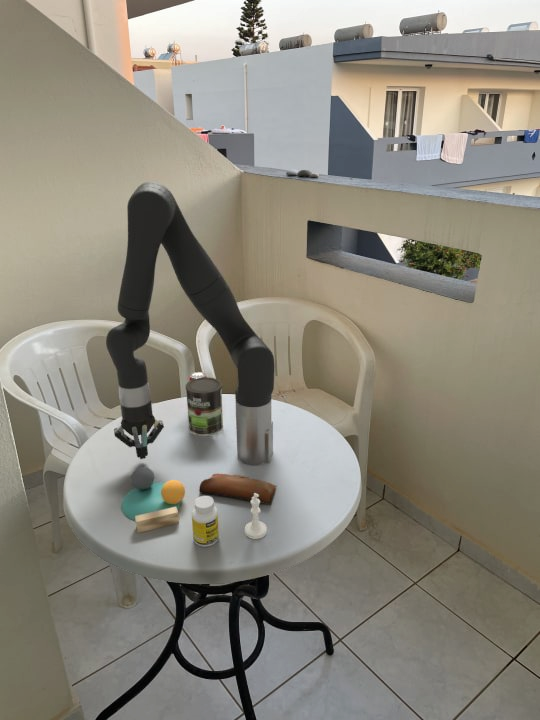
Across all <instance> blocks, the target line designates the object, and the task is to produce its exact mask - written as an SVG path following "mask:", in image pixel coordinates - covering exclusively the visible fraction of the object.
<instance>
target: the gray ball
mask: <svg viewBox="0 0 540 720" xmlns="http://www.w3.org/2000/svg"><path fill="white" fill-rule="evenodd" d="M130 480H131V481H130V482H131V484H132V486H133V488H136V489H139V490H145V489H148V488H149V487H151V486H152V484H153V482H155V474H154V472H153V470H152V469H151V468H149V467H147V466H140V467H137V468H136V469H134V471H133V472H132V473H131V477H130Z"/></svg>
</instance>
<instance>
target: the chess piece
mask: <svg viewBox="0 0 540 720" xmlns="http://www.w3.org/2000/svg"><path fill="white" fill-rule="evenodd" d="M257 497H259V495H258V494H256V493H254V496H253V497H252V500H251V501H250V504H251V508H250V513H251V514H252V521H249V522H248V523H246V525H245V527H244V534H245V536H246V537H247V538H250V539H253V540H259V539H262V538H264V537H265V536H266V534H267V533H268V527H267V525H266V524H265V523H264V522H262V521H260V518H259V514H260V513H261V512H262V511H261V508H260V507H259V506H260V504H261V503H260V500H259V499H257Z"/></svg>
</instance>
